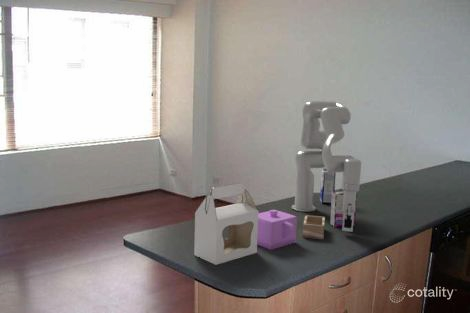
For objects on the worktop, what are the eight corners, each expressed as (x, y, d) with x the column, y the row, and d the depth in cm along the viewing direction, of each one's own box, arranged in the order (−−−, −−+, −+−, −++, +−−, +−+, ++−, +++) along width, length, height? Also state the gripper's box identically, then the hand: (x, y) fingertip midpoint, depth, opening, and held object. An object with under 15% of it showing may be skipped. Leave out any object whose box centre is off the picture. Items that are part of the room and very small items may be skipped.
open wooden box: (304, 227, 242) (305, 215, 241) (324, 229, 240) (324, 216, 239) (302, 237, 227) (303, 224, 226) (323, 239, 226) (324, 226, 225)
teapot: (262, 231, 235) (263, 201, 233) (304, 246, 217) (306, 213, 214) (237, 237, 225) (238, 206, 223) (279, 253, 207) (280, 219, 204)
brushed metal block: (342, 227, 235) (343, 208, 233) (352, 228, 234) (353, 209, 232) (342, 230, 230) (343, 211, 229) (352, 231, 229) (354, 212, 228)
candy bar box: (350, 223, 252) (352, 190, 249) (355, 226, 247) (357, 192, 244) (329, 224, 249) (331, 191, 246) (334, 227, 244) (336, 193, 241)
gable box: (235, 243, 216) (237, 178, 212) (257, 252, 207) (260, 184, 202) (193, 255, 201) (194, 185, 197) (215, 265, 192) (217, 192, 187)
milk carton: (333, 204, 287) (336, 169, 283) (321, 203, 287) (323, 168, 283) (331, 201, 294) (333, 166, 290) (319, 200, 294) (322, 166, 290)
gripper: (341, 181, 237) (338, 219, 241) (342, 190, 221) (339, 231, 224) (358, 183, 236) (355, 221, 239) (360, 191, 220) (356, 232, 223)
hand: (347, 225), depth 232 cm, fingers closed on brushed metal block, 4 cm apart
